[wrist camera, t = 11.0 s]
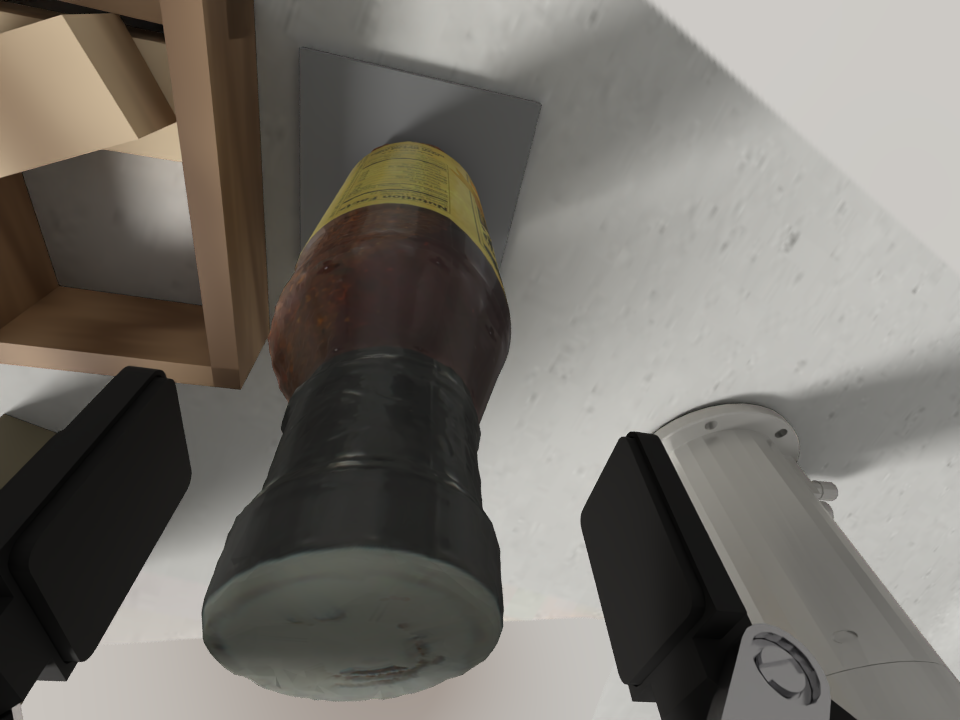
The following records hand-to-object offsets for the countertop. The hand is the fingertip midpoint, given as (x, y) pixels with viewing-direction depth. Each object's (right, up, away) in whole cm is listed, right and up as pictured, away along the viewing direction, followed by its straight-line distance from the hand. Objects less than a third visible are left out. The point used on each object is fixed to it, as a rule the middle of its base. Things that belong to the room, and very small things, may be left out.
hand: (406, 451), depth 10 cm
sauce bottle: (-2, +10, +12) cm, 16 cm away
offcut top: (-13, +12, +7) cm, 19 cm away
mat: (-2, +10, +13) cm, 16 cm away
